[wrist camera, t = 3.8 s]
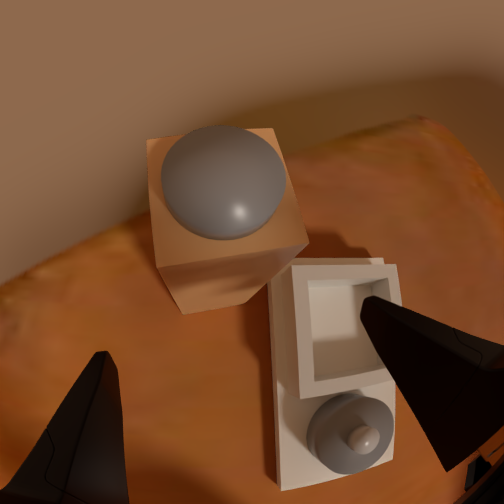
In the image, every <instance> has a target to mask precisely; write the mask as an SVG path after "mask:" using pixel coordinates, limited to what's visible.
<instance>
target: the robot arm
mask: <svg viewBox="0 0 504 504" xmlns="http://www.w3.org/2000/svg"><path fill="white" fill-rule="evenodd" d="M360 320H361V322H362V324H363V326H364V328H365V330H366V332H367V334H368V336H369V338H370V340H371V342H372V344H373V346H374V348H375V350H376V352H377V354H378V355H379V357H380V359H381V360H382V362H383V363H384V365H385V367H386V368H387V370H388V371H389V373H390V375H391V376H392V378H393V380H394V381H395V383H396V385H397V386H398V388H399V390H400V391H401V393H402V394H403V396H404V398H405V400H406V401H407V403H408V405H409V406H410V408H411V410H412V411H413V413H414V415H415V417H416V418H417V420H418V422H419V424H420V425H421V427H422V429H423V431H424V432H425V434H426V436H427V438H428V440H429V442H430V443H431V445H432V447H433V449H434V451H435V452H436V454H437V456H438V458H439V460H440V462H441V464H442V466H443V468H444V469H445V471H446V472H448V471H450V470H451V469H453V468H454V467H455V466H457V465H458V464H459V463H461V462H462V461H463V460H465V459H466V458H467V457H468V456H470V455H471V454H472V453H473V452H475V451H476V450H477V451H478V452H479V455H478V456H477V457H476V458H475V459H474V460H473V461H472V462H471V463H470V464H469V465H468V471H467V477H466V483H465V488H464V489H465V491H466V493H465V494H464V495H463V496H461V497H460V498H459V499H458V500H457V501H456V502H455V503H453V504H504V345H501V344H497V343H494V342H491V341H488V340H485V339H482V338H479V337H476V336H473V335H470V334H468V333H465V332H463V331H460V330H458V329H455V328H452V327H450V326H448V325H446V324H443V323H441V322H438V321H436V320H434V319H431V318H429V317H426V316H424V315H421V314H419V313H417V312H414V311H412V310H409V309H407V308H404V307H402V306H399V305H397V304H395V303H392V302H390V301H387V300H385V299H382V298H380V297H377V296H375V295H372V296H369V297H366V298H364V300H363V303H362V307H361V311H360ZM0 504H129V497H128V489H127V480H126V470H125V458H124V441H123V415H122V405H121V397H120V388H119V378H118V370H117V367H116V365H115V363H114V361H113V359H112V357H111V355H110V354H109V352H108V351H99V352H96V353H95V354H94V355H93V357H92V358H91V360H90V361H89V363H88V364H87V365H86V367H85V368H84V370H83V371H82V373H81V374H80V376H79V377H78V379H77V380H76V382H75V383H74V385H73V386H72V388H71V389H70V391H69V392H68V394H67V395H66V397H65V398H64V400H63V401H62V403H61V404H60V406H59V408H58V409H57V411H56V412H55V414H54V416H53V417H52V419H51V420H50V422H49V424H48V425H47V429H45V430H44V432H43V433H42V435H41V437H40V438H39V440H38V441H37V443H36V445H35V446H34V448H33V449H32V451H31V452H30V454H29V455H28V457H27V458H26V459H25V461H24V462H23V464H22V465H21V466H20V468H19V469H18V471H17V472H16V473H15V475H14V476H13V478H12V479H11V481H10V482H9V483H8V484H7V485H6V486H5V487H4V488H3V489H1V490H0Z"/></svg>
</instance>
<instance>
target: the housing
mask: <svg viewBox="0 0 504 504" xmlns="http://www.w3.org/2000/svg"><path fill="white" fill-rule="evenodd" d="M267 288H268V305H269V322H270V340H271V359H272V378H273V399H274V421H275V445H276V472H277V486H278V487H279V489H280V490H281V491H284V490H290V489H295V488H300V487H305V486H309V485H313V484H318V483H322V482H326V481H329V480H333V479H337V478H340V477H344V476H347V475H350V474H355V473H358V472H361V471H363V470H365V469H368V468H371V467H374V466H377V465H379V464H382V463H385V462H387V461H390V460H392V459H393V448H394V431H395V381H394V380H393V378H392V376H391V375H390V373H389V371H388V370H387V368H386V367H385V365H384V363H383V362H382V360H381V359H380V357H379V355H378V354H377V352H376V350H375V348H374V346H373V344H372V342H371V340H370V338H369V336H368V334H367V332H366V330H365V328H364V326H363V324H362V322H361V320H360V311H361V307H362V303H363V300H364V298H366V297H369V296H372V295H375V296H377V297H380V298H382V299H385V300H387V301H390V302H392V303H395V304H397V305H399V306H402V302H401V294H400V287H399V280H398V274H397V267H396V264H384V261H383V258H293V259H292V260H291V261H290V262H289V263H288V264H287V265H286V266H285V267H284V268H282V269H281V270H280V271H279V272H278V273H277V274H276V275H275V276H274V277H273V278H272V279H271V280H269V281H268V282H267Z"/></svg>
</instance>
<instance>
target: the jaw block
mask: <svg viewBox="0 0 504 504" xmlns="http://www.w3.org/2000/svg"><path fill="white" fill-rule="evenodd" d="M146 143H147V170H148V186H149V201H150V213H151V224H152V234H153V243H154V251H155V260H156V267H157V270H158V271H159V273H160V275H161V277H162V279H163V281H164V282H165V284H166V286H167V288H168V290H169V291H170V293H171V295H172V297H173V299H174V300H175V302H176V304H177V306H178V307H179V309H180V311H181V312H182V314H183V315H185V314H190V313H196V312H202V311H207V310H213V309H218V308H224V307H229V306H234V305H239V304H244V303H245V302H247V301H248V300H249V299H250V298H251V297H252V296H253V295H254V294H255V293H256V292H258V291H259V290H260V289H261V288H262V287H263V286H264V285H265V284H266V283H267V282H268V281H269V280H271V279H272V278H273V277H274V276H275V275H276V274H277V273H278V272H279V271H280V270H281V269H282V268H284V267H285V266H286V265H287V264H288V263H289V262H290V261H291V260H292V259H293V258H294V257H295V256H296V255H297V254H298V253H299V252H301V251H302V250H303V249H304V248H305V247H306V246H307V245H308V244H309V243H310V242H309V239H308V235H307V232H306V229H305V225H304V222H303V218H302V215H301V212H300V209H299V205H298V202H297V199H296V196H295V193H294V190H293V186H292V183H291V180H290V177H289V174H288V171H287V168H286V165H285V162H284V159H283V156H282V153H281V150H280V147H279V145H278V142H277V139H276V136H275V133H274V130H273V128H261V129H242V128H238V127H233V126H224V125H218V126H208V127H204V128H200V129H197V130H194V131H192V132H190V133H188V134H184V135H176V136H168V137H161V138H154V139H148V140H146Z"/></svg>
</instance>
